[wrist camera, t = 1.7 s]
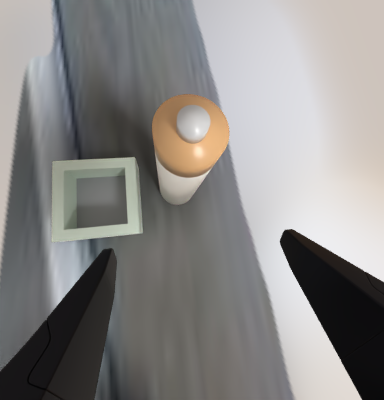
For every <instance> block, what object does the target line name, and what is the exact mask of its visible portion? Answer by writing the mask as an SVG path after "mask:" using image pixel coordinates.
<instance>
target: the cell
mask: <svg viewBox="0 0 384 400" xmlns="http://www.w3.org/2000/svg"><path fill="white" fill-rule="evenodd" d="M152 133H153V141H154V149H155V156H156V164H157V172H158V179H159V187H160V193H161V195H162V197H163V199H164V200H165V201H167V202H168V203H170V204H173V205H181V204H184V203H186V202H188V201H189V200H190V199H191V197H192V196H193V194H194V193H195V192H196V190H197V189H198V187H199V186H200V184H201V183H202V182H203V180H204V179H205V177H206V176H207V174H208V173H209V172H210V170H211V169H212V167H213V166H214V164H215V163H216V162H217V160H218V159H219V157H220V156H221V154H222V153H223V151H224V150H225V148H226V146H227V144H228V140H229V126H228V122H227V120H226V117H225V115H224V114H223V112H222V111H221V110H220V108H219V107H218V106H217V105H215V104H214V103H213V102H211V101H210V100H208V99H206V98H204V97H201V96H198V95H192V94H183V95H178V96H175V97H172V98H170V99H168V100H167V101H165V102H164V103H163V104H162V105H161V106H160V107H159V108H158V110H157V111H156V113H155V115H154V118H153V122H152Z"/></svg>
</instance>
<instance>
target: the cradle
mask: <svg viewBox="0 0 384 400" xmlns="http://www.w3.org/2000/svg"><path fill="white" fill-rule="evenodd" d="M142 233H143V226H142V210H141V195H140V179H139V167H138V164H137V162H136V159H135V157H129V158H108V159H87V160H65V161H52V238H51V242H64V241H75V240H85V239H94V238H104V237H113V236H123V235H132V234H142Z"/></svg>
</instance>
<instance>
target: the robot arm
mask: <svg viewBox="0 0 384 400" xmlns="http://www.w3.org/2000/svg"><path fill="white" fill-rule="evenodd" d="M280 244H281V247H282V249H283V252H284V254H285V256H286V259H287V261H288V263H289V266H290V268H291V270H292V272H293V274H294V276H295V277H296V279H297V281H298V283H299V285H300V287H301V289H302V290H303V292H304V294H305V296H306V297H307V299H308V301H309V303H310V305H311V307H312V308H313V310H314V312H315V314H316V316H317V318H318V320H319V321H320V323H321V325H322V327H323V329H324V331H325V332H326V334H327V336H328V338H329V340H330V341H331V343H332V345H333V347H334V349H335V351H336V352H337V354H338V356H339V358H340V359H341V362H342V364H343V365H344V367H345V369H346V371H347V373H348V374H349V376H350V378H351V380H352V382H353V384H354V385H355V387H356V389H357V391H358V393H359V395H360V396H361V398H362V400H384V282H382V281H381V280H379V279H377V278H375V277H373V276H372V275H370V274H369V273H367V272H364V271H363V270H361V269H360V268H358V267H356V266H355V265H353V264H351V263H350V262H347V261H346V260H344V259H343V258H341V257H339V256H338V255H336V254H334V253H332V252H331V251H329V250H327V249H326V248H324V247H322V246H320V245H318V244H317V243H315V242H314V241H312V240H310V239H308V238H307V237H305V236H303V235H301V234H300V233H298V232H296V231H295V230H292V229H289V230H285V231H284V232H283V234H282V237H281V239H280ZM116 267H117V260H116V256H115V253H114V250H113V249H112V248H109V249H104V250H102V252H101V253H100V254H99V255H98V257H97V258H96V259H95V260H94V261H93V263H92V264H91V265H90V266H89V268H88V269H87V270H86V271H85V272H84V274H83V275H82V276H81V277H80V279H79V280H78V281H77V282H76V283H75V285H74V286H73V287H72V288H71V290H70V291H69V292H68V293H67V294H66V296H65V297H64V298H63V299H62V301H61V302H60V303H59V304H58V305H57V307H56V308H55V309H54V310H53V312H52V313H51V314H50V315H49V316H48V318H47V320H45V321H44V322H43V324H42V325H41V326H40V327H39V329H38V330H37V331H36V332H35V333H34V335H33V336H32V337H31V338H30V339H29V340H28V342H27V343H26V344H25V345H24V346H23V347H22V348H21V349H20V351H19V352H18V353H17V354H16V355H15V356H14V357H13V358H12V359H11V360H10V362H9V363H8V364H7V365H6V366H5V367H4V368H3V369H2V370H1V371H0V400H94V398H95V393H96V387H97V382H98V377H99V372H100V367H101V362H102V356H103V351H104V346H105V341H106V336H107V331H108V325H109V320H110V315H111V310H112V305H113V299H114V293H115V280H116Z"/></svg>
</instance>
